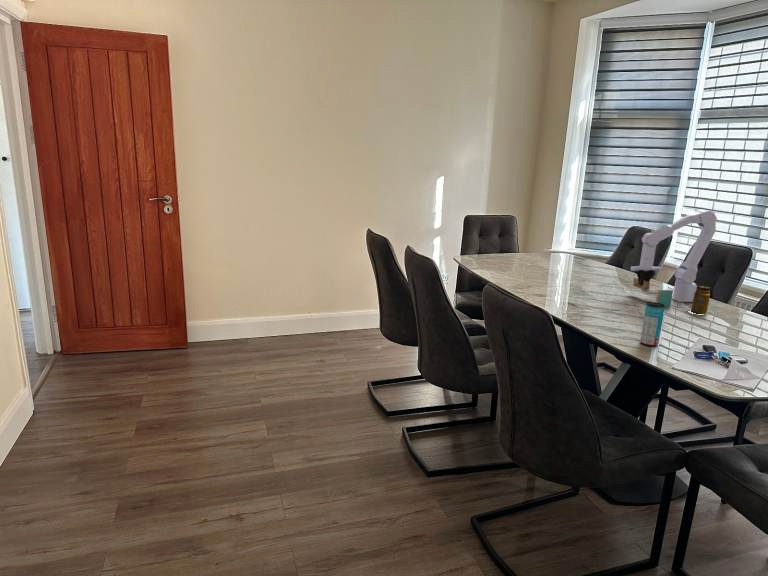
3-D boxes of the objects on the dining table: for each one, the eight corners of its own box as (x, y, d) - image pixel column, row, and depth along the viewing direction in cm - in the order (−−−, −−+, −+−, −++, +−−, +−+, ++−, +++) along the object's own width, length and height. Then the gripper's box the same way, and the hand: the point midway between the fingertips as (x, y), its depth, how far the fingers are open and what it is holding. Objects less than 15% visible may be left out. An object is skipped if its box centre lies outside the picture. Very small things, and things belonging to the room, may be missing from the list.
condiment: (710, 314, 235) (715, 287, 232) (700, 316, 230) (706, 289, 227) (693, 309, 240) (698, 284, 238) (684, 312, 236) (688, 286, 233)
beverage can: (661, 347, 187) (668, 306, 184) (645, 347, 187) (652, 306, 183) (652, 341, 193) (658, 302, 189) (636, 341, 192) (643, 301, 189)
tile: (668, 306, 244) (671, 289, 243) (670, 307, 243) (673, 290, 241) (654, 306, 244) (657, 289, 242) (656, 307, 242) (659, 290, 240)
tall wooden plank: (629, 285, 264) (630, 277, 263) (640, 285, 265) (641, 277, 264) (650, 293, 248) (651, 285, 247) (661, 294, 249) (663, 285, 248)
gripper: (656, 256, 259) (651, 283, 263) (628, 256, 257) (624, 283, 261) (665, 259, 253) (660, 286, 256) (637, 259, 251) (633, 286, 254)
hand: (643, 285), depth 258 cm, fingers closed on tall wooden plank, 2 cm apart
